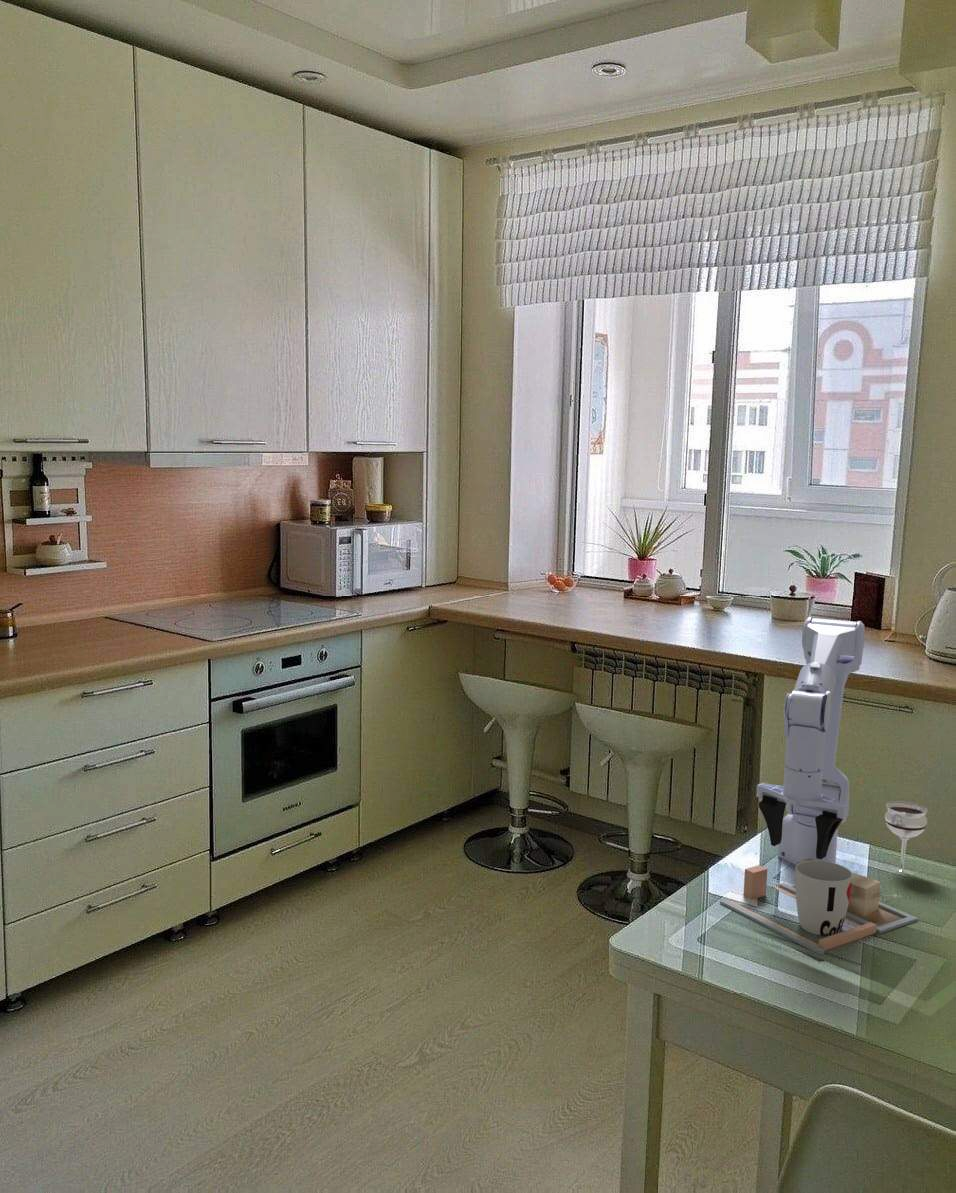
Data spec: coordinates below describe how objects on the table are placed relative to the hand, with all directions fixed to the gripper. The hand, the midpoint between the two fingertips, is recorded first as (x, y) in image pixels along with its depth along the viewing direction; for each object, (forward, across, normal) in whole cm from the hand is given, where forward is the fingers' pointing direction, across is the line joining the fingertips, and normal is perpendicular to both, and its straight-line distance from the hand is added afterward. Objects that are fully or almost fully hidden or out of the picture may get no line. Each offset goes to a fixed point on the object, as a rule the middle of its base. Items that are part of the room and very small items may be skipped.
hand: (798, 850), depth 163 cm
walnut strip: (+10, +6, +5) cm, 12 cm away
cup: (+10, +7, -6) cm, 13 cm away
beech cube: (+8, +8, +5) cm, 13 cm away
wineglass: (+10, +7, +27) cm, 29 cm away
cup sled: (+10, +3, -5) cm, 11 cm away
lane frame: (+10, +4, -1) cm, 11 cm away
